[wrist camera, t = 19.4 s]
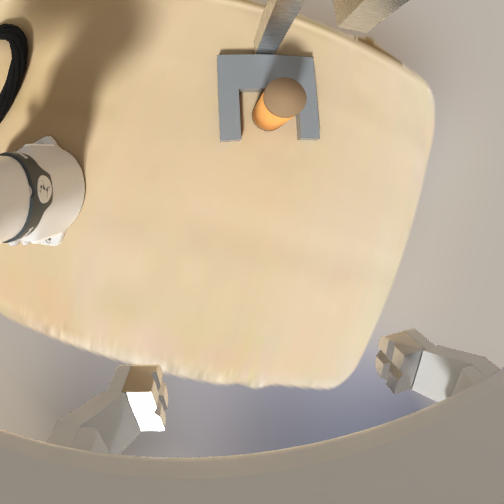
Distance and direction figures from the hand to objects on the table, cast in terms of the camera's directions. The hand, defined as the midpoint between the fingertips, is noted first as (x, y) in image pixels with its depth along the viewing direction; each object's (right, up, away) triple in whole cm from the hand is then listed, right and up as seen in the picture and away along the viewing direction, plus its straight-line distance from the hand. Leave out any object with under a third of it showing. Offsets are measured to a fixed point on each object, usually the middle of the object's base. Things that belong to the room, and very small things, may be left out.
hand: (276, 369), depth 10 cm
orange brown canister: (+2, +25, +32) cm, 41 cm away
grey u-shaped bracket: (+1, +28, +32) cm, 42 cm away
